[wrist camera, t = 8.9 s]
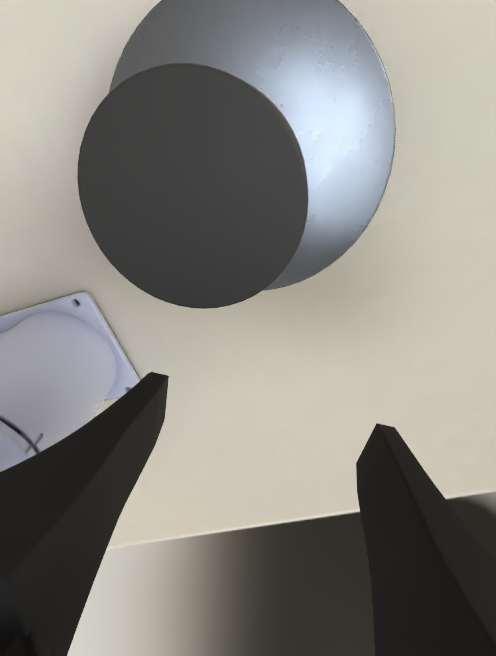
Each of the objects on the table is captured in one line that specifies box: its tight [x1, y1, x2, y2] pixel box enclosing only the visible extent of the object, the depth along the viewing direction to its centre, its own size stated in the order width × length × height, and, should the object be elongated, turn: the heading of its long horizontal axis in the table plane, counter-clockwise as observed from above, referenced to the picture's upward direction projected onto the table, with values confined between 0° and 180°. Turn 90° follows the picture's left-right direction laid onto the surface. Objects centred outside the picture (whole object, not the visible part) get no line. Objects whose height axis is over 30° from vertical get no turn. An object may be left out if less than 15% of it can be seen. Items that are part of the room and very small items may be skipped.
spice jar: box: [78, 63, 309, 308], centre depth 12 cm, size 5×5×9 cm
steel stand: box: [109, 0, 396, 290], centre depth 17 cm, size 12×12×3 cm
